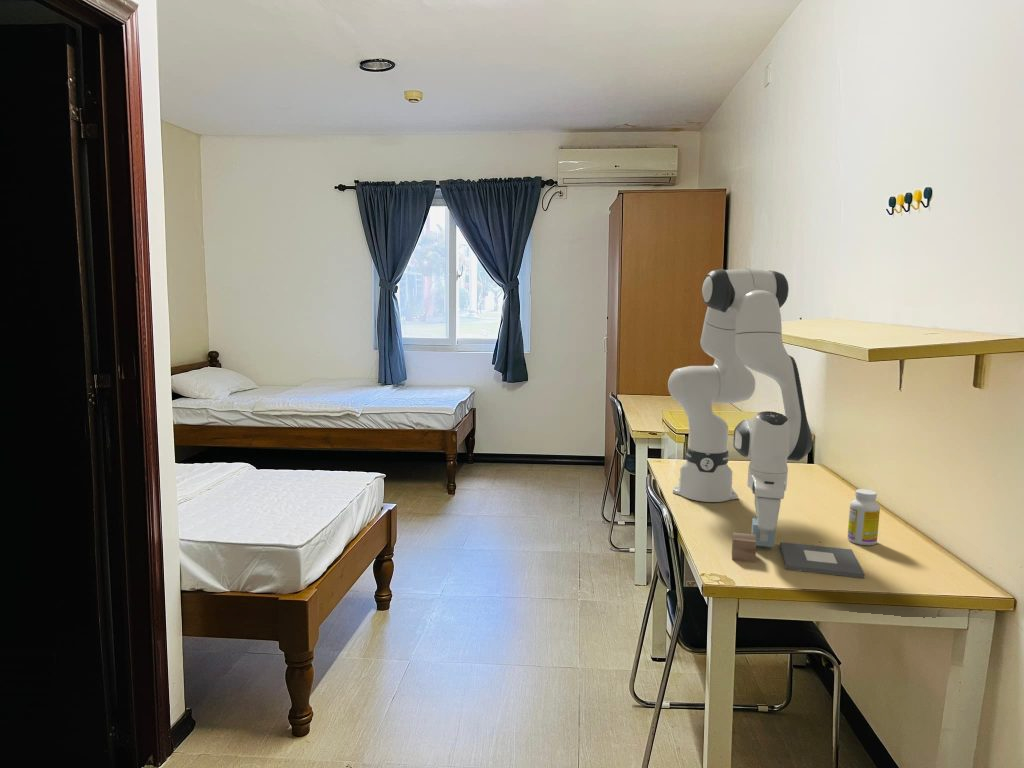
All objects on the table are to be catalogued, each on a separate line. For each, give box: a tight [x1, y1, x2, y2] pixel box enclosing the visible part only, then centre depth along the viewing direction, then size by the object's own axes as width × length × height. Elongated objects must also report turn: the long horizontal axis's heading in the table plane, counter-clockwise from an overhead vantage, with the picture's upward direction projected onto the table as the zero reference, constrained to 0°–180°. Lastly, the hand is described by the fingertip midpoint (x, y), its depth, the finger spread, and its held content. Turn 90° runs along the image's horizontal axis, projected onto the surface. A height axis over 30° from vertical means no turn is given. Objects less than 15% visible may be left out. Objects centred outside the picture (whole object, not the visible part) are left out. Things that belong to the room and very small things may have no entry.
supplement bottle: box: [847, 488, 881, 547], centre depth 177 cm, size 7×7×13 cm
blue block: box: [750, 517, 776, 548], centre depth 173 cm, size 5×5×5 cm
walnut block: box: [731, 531, 757, 564], centre depth 166 cm, size 5×5×5 cm
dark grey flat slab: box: [779, 541, 865, 579], centre depth 165 cm, size 15×16×1 cm
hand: (762, 535), depth 173 cm, fingers closed on blue block, 5 cm apart
